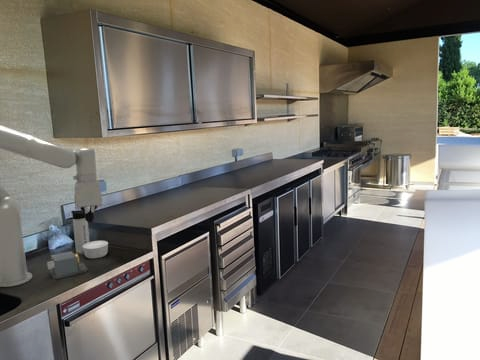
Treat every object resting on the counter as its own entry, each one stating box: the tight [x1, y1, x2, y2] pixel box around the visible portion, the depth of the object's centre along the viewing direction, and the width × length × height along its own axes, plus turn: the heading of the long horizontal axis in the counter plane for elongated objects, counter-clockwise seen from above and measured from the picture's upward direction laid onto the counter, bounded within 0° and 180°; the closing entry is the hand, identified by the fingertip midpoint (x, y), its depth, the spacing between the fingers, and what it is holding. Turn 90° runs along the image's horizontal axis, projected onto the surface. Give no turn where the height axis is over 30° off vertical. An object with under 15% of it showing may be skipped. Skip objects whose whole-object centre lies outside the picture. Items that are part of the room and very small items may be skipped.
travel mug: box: [71, 209, 91, 255], centre depth 191 cm, size 6×7×20 cm
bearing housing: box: [49, 250, 89, 280], centre depth 168 cm, size 13×9×7 cm
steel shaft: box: [46, 252, 81, 270], centre depth 167 cm, size 11×5×5 cm, turn 123°
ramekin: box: [82, 240, 109, 260], centre depth 188 cm, size 11×11×5 cm
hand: (89, 221), depth 171 cm, fingers closed
